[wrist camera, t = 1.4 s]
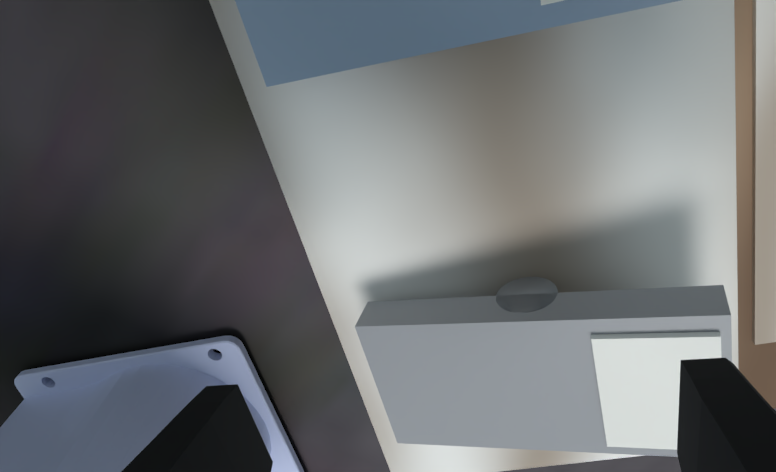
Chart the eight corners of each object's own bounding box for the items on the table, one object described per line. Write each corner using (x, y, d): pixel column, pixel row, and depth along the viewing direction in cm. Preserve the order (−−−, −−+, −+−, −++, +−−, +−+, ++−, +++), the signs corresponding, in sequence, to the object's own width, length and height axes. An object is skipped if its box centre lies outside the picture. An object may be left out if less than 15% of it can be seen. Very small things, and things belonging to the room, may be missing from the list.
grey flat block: (413, 397, 18) (396, 447, 16) (376, 285, 16) (352, 330, 15) (722, 402, 15) (734, 465, 13) (718, 265, 13) (732, 320, 12)
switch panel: (392, 434, 24) (381, 527, 20) (95, -368, 13) (-35, -462, 10) (852, 375, 21) (934, 473, 17) (965, -762, 10) (1250, -1125, 6)
